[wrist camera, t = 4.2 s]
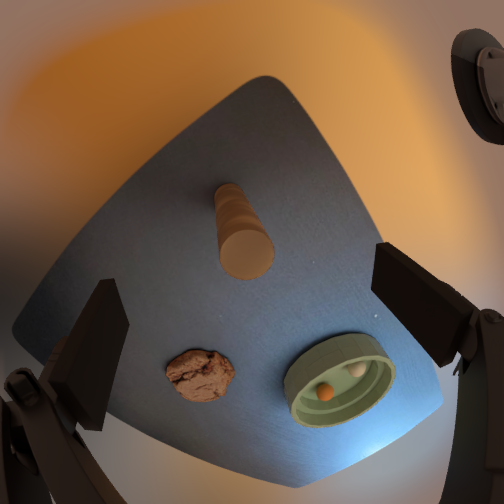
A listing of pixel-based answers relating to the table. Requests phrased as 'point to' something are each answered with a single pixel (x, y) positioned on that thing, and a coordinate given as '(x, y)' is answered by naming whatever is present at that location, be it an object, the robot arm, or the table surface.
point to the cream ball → (356, 368)
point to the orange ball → (325, 392)
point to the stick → (240, 235)
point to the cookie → (200, 375)
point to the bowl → (338, 380)
